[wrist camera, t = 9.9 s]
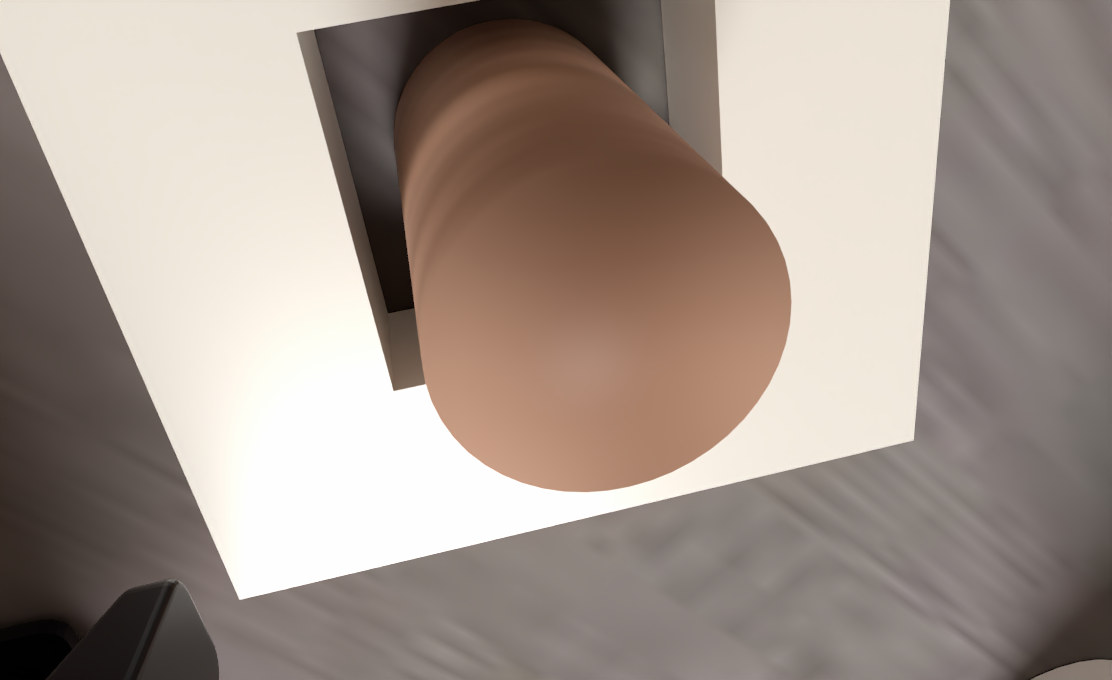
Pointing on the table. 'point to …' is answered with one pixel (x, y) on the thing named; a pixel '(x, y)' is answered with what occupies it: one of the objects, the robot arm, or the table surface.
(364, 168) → the table surface
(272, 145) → the socket
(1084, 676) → the cylindrical container
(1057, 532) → the table surface
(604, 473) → the peg
